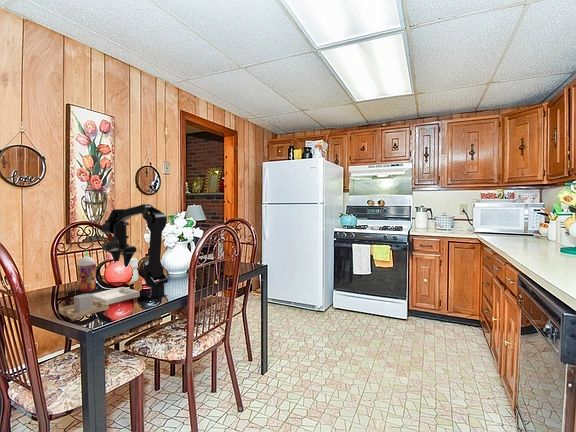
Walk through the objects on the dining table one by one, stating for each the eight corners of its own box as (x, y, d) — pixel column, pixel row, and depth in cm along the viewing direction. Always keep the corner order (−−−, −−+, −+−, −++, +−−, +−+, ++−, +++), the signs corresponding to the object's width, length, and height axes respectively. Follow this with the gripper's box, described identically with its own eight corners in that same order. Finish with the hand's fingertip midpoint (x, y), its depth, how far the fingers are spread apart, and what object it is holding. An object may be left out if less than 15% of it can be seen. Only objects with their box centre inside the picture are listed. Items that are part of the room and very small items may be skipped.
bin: (139, 297, 149) (139, 291, 149) (106, 306, 136) (105, 300, 136) (122, 291, 157) (122, 286, 157) (89, 299, 145) (89, 294, 145)
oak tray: (108, 309, 131) (108, 305, 131) (73, 319, 121) (72, 314, 120) (93, 304, 139) (93, 299, 139) (58, 312, 128) (58, 308, 128)
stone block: (93, 309, 130) (93, 295, 130) (80, 313, 126) (79, 298, 126) (87, 307, 133) (87, 293, 133) (74, 310, 129) (74, 296, 129)
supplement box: (129, 283, 173) (129, 260, 172) (117, 282, 175) (117, 260, 174) (138, 280, 180) (138, 258, 180) (127, 279, 182) (126, 257, 181)
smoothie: (92, 287, 166) (91, 249, 165) (100, 289, 161) (99, 250, 160) (74, 290, 159) (73, 251, 158) (82, 293, 154) (80, 253, 153)
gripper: (94, 234, 156) (95, 266, 156) (113, 237, 145) (114, 270, 146) (116, 232, 165) (117, 262, 166) (136, 234, 154) (137, 266, 155)
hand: (121, 265), depth 158 cm, fingers open, 9 cm apart
